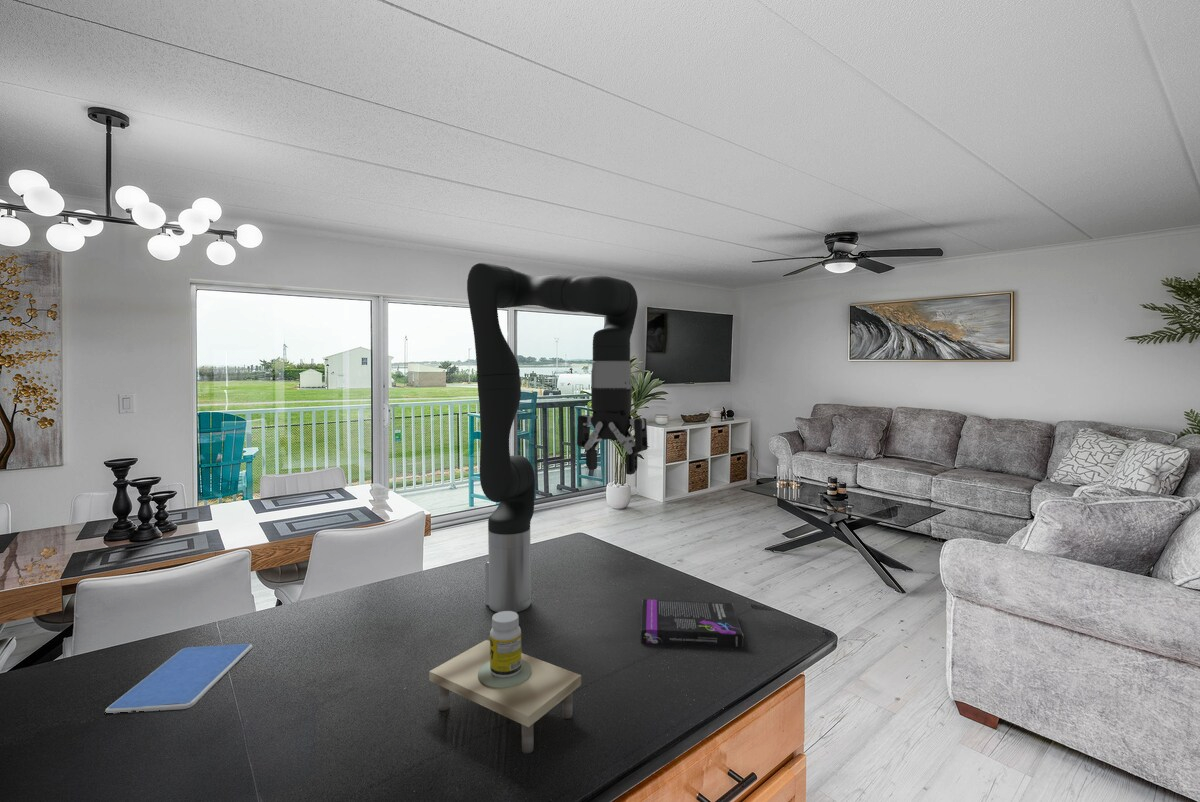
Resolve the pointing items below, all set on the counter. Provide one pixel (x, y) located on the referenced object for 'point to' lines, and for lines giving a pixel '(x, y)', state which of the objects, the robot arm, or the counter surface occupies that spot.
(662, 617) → the box
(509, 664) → the supplement bottle
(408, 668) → the counter surface
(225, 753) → the counter surface
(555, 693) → the shelf stand
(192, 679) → the tablet computer
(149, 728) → the counter surface
